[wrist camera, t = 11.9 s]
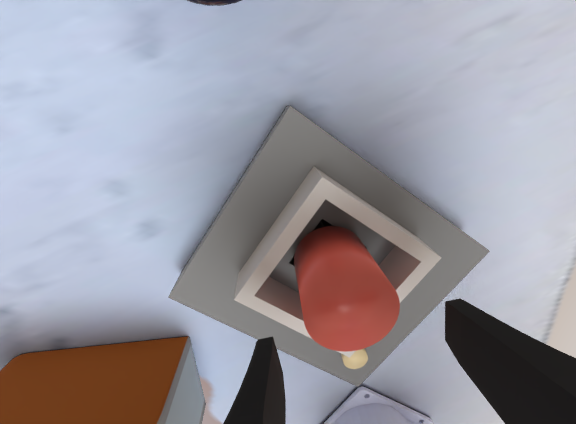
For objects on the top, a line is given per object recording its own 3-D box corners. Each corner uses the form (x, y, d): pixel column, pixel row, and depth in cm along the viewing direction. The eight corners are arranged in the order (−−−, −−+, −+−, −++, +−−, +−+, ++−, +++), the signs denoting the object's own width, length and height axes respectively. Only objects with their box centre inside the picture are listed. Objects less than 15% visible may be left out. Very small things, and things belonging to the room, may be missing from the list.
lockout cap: (379, 249, 18) (419, 300, 13) (335, 300, 19) (359, 364, 14) (322, 212, 17) (343, 253, 12) (279, 269, 18) (284, 327, 13)
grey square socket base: (460, 232, 22) (524, 273, 16) (348, 355, 25) (369, 422, 20) (286, 106, 18) (295, 105, 12) (181, 272, 21) (152, 327, 16)
